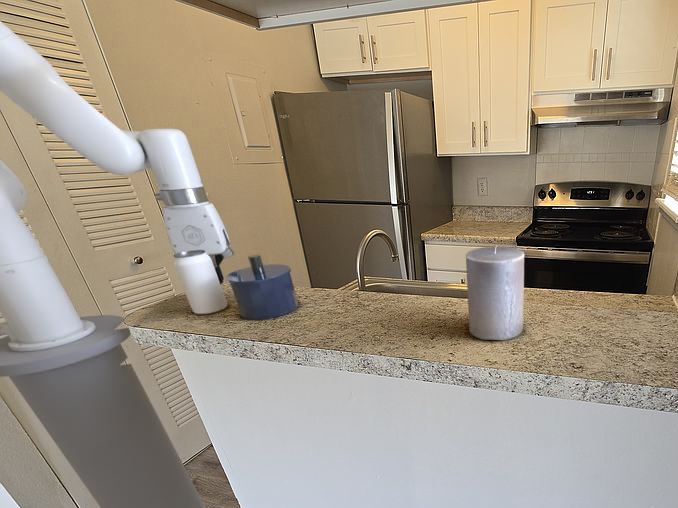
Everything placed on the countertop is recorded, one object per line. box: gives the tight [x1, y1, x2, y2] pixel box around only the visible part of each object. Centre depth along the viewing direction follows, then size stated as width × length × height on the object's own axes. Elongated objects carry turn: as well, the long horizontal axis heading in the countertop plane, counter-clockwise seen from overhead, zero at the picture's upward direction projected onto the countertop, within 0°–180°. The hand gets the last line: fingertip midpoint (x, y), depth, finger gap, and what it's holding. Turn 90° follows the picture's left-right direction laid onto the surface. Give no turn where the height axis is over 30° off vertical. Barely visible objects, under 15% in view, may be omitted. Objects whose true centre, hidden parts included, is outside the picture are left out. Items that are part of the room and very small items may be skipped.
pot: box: [229, 272, 299, 321], centre depth 83 cm, size 11×11×8 cm
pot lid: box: [225, 254, 292, 284], centre depth 81 cm, size 12×12×4 cm
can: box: [172, 250, 228, 315], centre depth 84 cm, size 6×6×12 cm
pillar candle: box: [465, 244, 525, 341], centre depth 69 cm, size 10×10×15 cm
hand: (217, 284), depth 91 cm, fingers closed
